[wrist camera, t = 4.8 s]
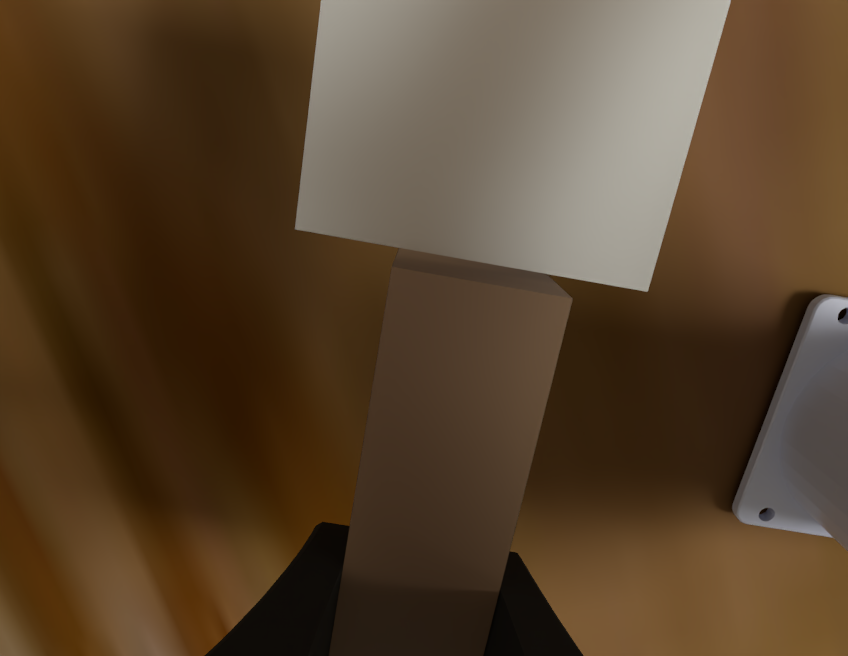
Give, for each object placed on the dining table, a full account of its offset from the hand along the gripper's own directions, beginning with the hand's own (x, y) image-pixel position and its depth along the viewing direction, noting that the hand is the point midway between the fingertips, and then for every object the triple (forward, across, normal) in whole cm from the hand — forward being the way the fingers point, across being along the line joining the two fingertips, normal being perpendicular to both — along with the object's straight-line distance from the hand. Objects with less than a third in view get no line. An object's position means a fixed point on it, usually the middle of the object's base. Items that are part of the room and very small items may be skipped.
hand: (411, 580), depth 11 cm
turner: (+2, 0, -3) cm, 4 cm away
